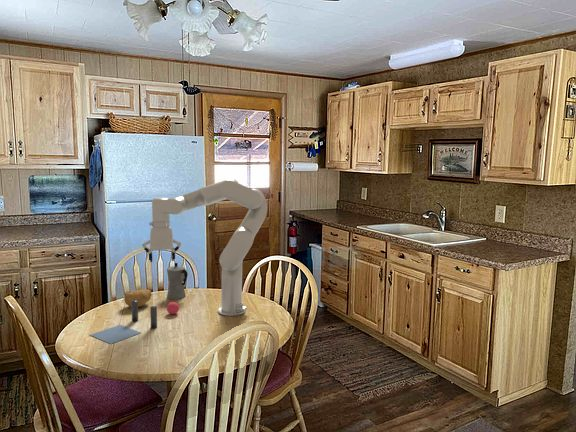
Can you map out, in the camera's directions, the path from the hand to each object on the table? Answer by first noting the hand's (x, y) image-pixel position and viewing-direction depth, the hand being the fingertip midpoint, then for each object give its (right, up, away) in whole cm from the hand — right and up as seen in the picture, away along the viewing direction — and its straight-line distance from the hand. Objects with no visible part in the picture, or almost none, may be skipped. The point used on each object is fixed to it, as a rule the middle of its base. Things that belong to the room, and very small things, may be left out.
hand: (162, 261), depth 206 cm
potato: (-14, -23, +8) cm, 28 cm away
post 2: (+2, -26, -18) cm, 32 cm away
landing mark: (-12, -27, -26) cm, 39 cm away
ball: (+5, -22, -2) cm, 22 cm away
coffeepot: (+1, -21, +23) cm, 31 cm away
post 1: (-9, -25, -11) cm, 29 cm away
